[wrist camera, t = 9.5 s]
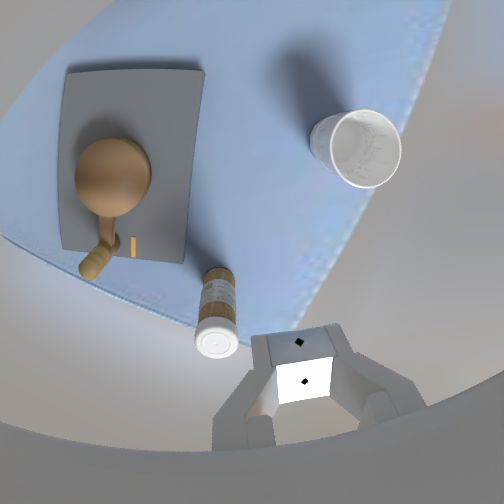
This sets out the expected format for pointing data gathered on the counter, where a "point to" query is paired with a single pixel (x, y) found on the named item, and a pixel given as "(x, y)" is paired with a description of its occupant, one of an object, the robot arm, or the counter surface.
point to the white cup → (357, 147)
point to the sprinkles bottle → (217, 315)
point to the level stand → (153, 143)
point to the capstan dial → (110, 192)
